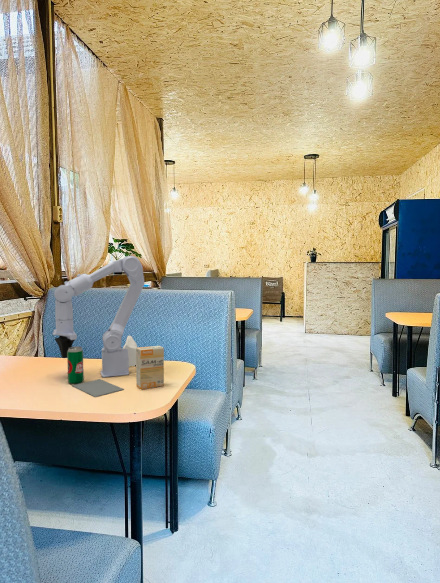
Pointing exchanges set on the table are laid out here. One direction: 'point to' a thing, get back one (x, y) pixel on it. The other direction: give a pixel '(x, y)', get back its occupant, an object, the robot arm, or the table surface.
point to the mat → (97, 387)
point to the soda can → (75, 365)
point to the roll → (131, 350)
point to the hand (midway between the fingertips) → (65, 357)
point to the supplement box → (149, 367)
